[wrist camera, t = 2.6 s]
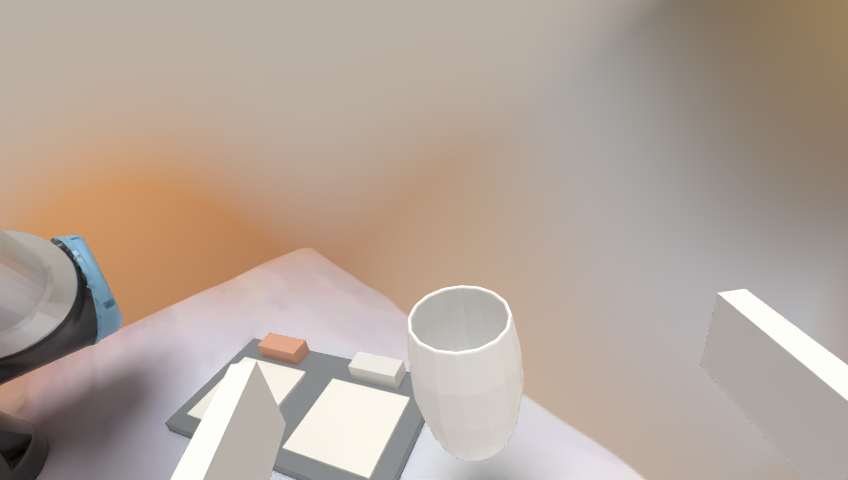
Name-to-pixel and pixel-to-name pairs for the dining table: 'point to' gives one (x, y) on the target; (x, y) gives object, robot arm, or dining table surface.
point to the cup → (466, 369)
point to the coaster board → (327, 410)
